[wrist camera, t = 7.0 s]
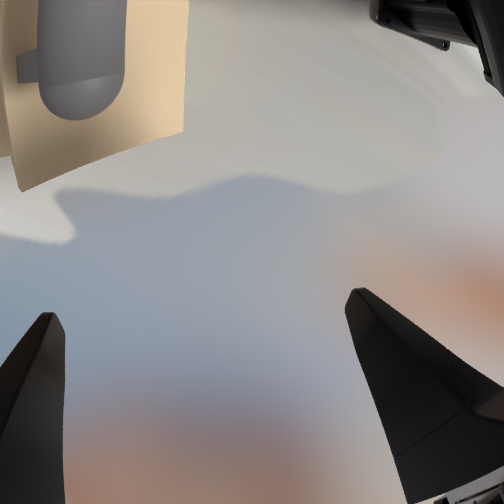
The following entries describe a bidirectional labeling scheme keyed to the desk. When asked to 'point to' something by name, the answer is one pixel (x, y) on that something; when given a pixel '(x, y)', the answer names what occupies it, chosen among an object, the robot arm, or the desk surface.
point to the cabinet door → (88, 80)
